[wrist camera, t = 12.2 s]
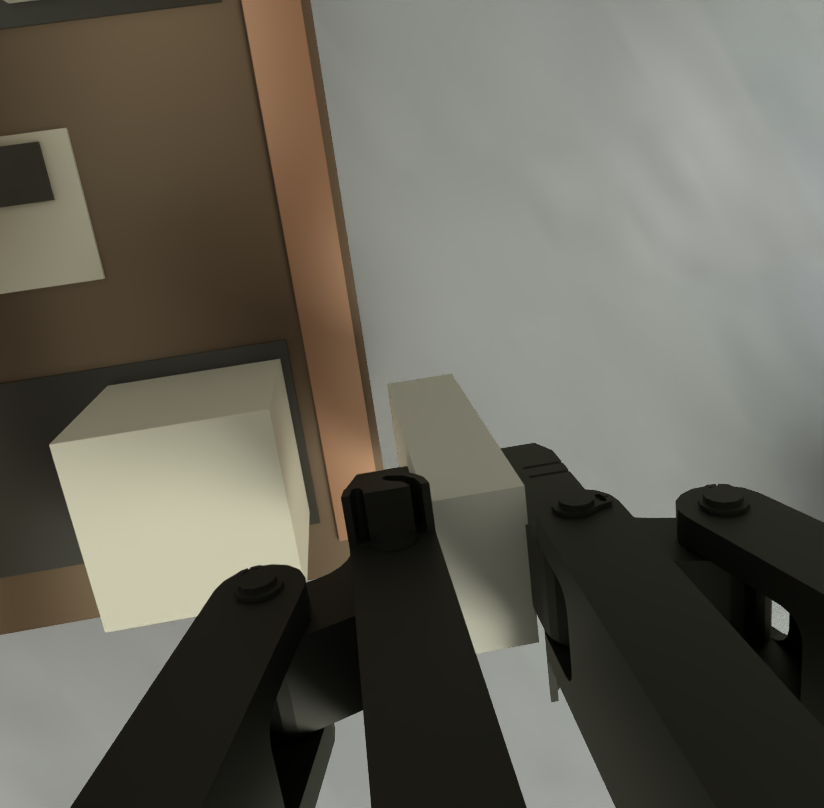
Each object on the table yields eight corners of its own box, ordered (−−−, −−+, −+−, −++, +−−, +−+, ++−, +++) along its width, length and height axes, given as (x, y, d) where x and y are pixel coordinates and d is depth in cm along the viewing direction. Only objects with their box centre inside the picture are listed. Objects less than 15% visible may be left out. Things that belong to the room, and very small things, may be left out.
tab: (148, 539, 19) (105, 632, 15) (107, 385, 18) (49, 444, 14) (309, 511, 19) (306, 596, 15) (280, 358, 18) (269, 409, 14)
